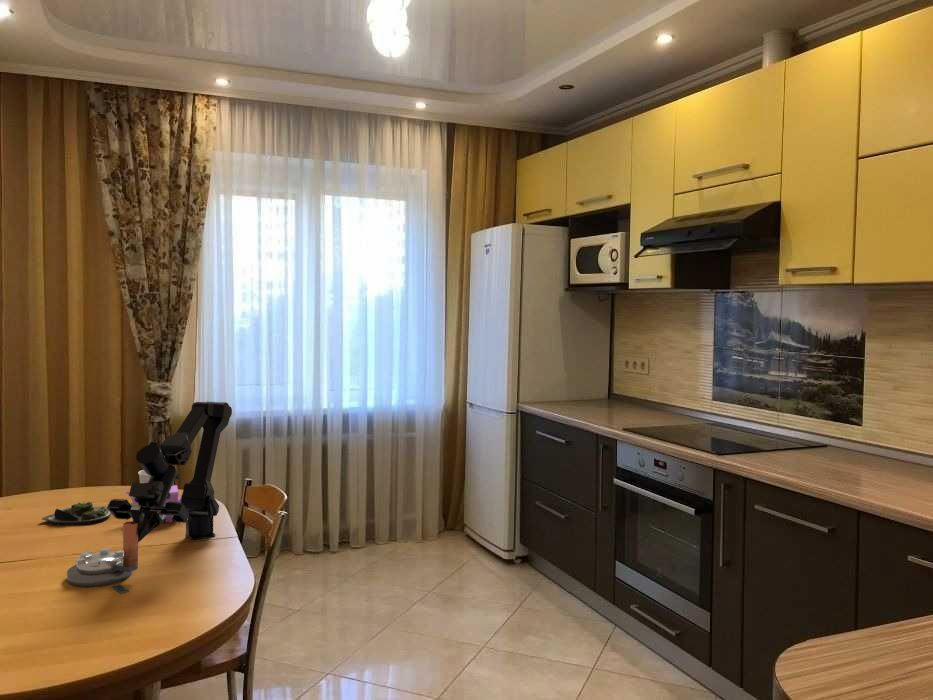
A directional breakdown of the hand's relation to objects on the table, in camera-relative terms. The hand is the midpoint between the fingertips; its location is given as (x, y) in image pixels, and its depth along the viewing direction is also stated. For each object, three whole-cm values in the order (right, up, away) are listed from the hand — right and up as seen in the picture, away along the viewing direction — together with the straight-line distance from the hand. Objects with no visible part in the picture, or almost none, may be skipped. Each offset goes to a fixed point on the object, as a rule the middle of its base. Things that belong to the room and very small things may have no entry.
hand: (135, 542), depth 170 cm
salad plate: (-39, -6, +47) cm, 61 cm away
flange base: (-7, -9, -1) cm, 11 cm away
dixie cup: (-26, -5, +67) cm, 72 cm away
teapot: (-15, -6, +47) cm, 50 cm away
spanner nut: (-6, -6, 0) cm, 9 cm away
